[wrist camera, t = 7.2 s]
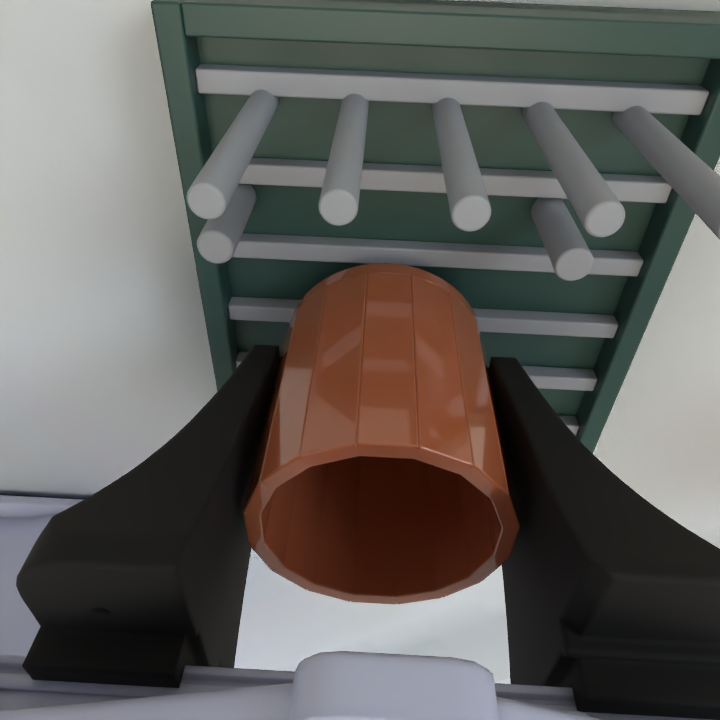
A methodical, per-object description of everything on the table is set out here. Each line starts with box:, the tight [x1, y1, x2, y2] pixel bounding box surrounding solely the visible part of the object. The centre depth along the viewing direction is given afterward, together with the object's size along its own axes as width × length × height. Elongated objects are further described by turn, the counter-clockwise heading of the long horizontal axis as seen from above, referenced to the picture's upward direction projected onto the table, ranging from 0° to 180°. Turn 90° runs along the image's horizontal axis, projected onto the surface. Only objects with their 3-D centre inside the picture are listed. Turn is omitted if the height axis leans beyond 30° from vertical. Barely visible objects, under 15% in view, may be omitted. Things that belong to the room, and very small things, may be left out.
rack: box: [151, 0, 720, 454], centre depth 14 cm, size 12×13×6 cm
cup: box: [243, 263, 520, 604], centre depth 14 cm, size 5×5×6 cm
